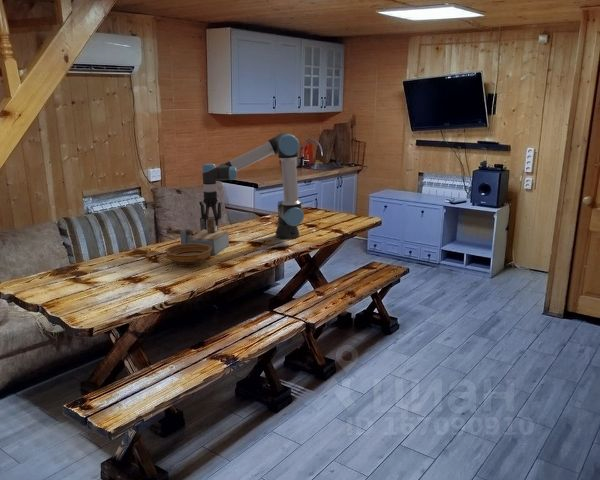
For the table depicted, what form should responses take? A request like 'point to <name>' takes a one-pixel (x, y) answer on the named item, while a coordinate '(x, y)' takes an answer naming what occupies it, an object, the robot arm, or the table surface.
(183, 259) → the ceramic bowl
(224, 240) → the toolbox
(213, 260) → the table surface
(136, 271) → the table surface
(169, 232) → the latch
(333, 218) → the table surface
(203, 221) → the small box
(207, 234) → the board with wooden block
